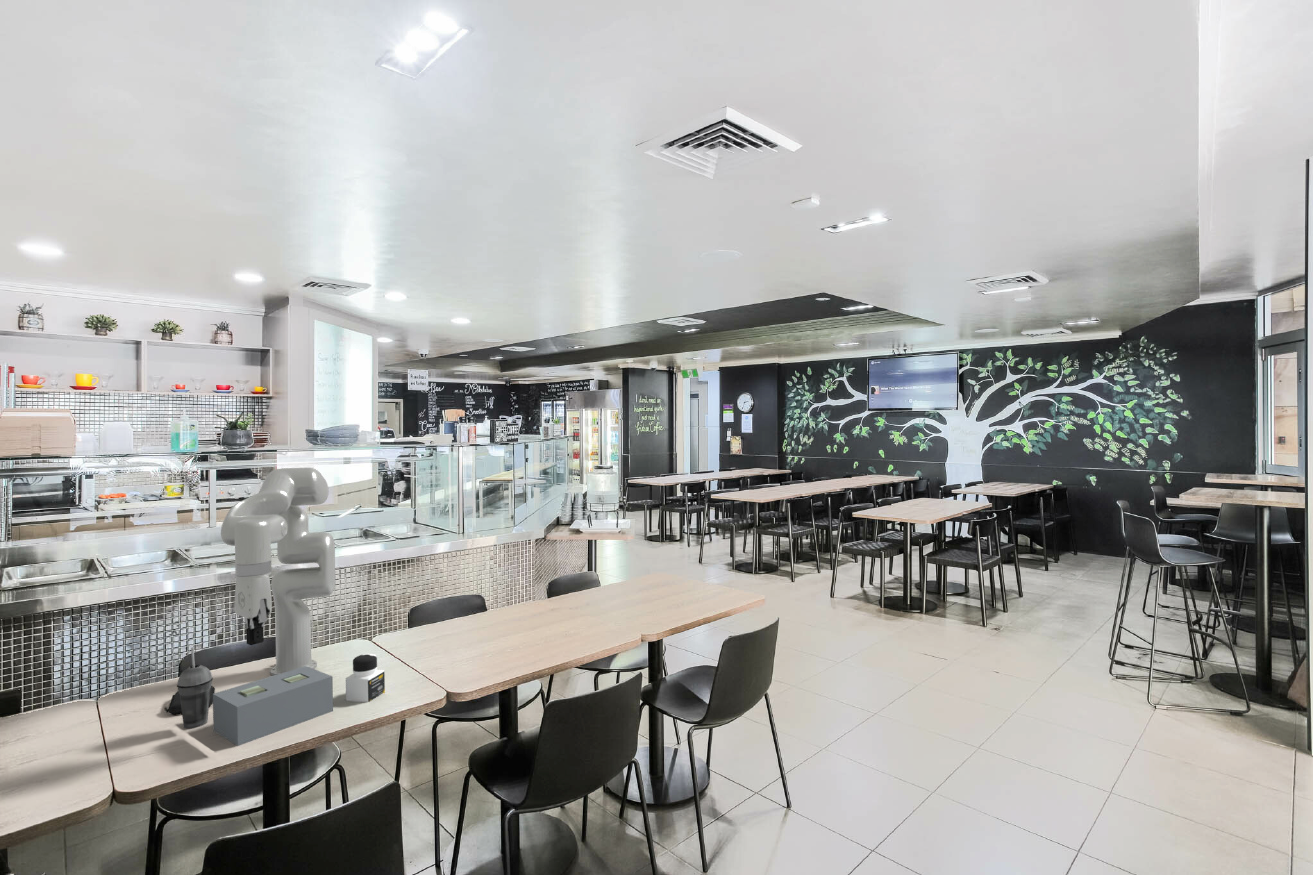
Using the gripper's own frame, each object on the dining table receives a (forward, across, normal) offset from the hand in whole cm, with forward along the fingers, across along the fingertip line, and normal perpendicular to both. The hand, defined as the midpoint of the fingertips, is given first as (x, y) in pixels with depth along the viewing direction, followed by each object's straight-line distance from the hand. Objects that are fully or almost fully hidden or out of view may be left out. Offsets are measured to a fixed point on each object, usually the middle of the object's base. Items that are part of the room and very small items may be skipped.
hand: (255, 643), depth 154 cm
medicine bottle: (+22, +6, +25) cm, 34 cm away
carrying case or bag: (+22, -33, -4) cm, 40 cm away
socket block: (+22, +1, +4) cm, 22 cm away
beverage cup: (+22, -14, -8) cm, 27 cm away
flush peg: (+21, +1, +9) cm, 22 cm away
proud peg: (+20, +1, -1) cm, 20 cm away
